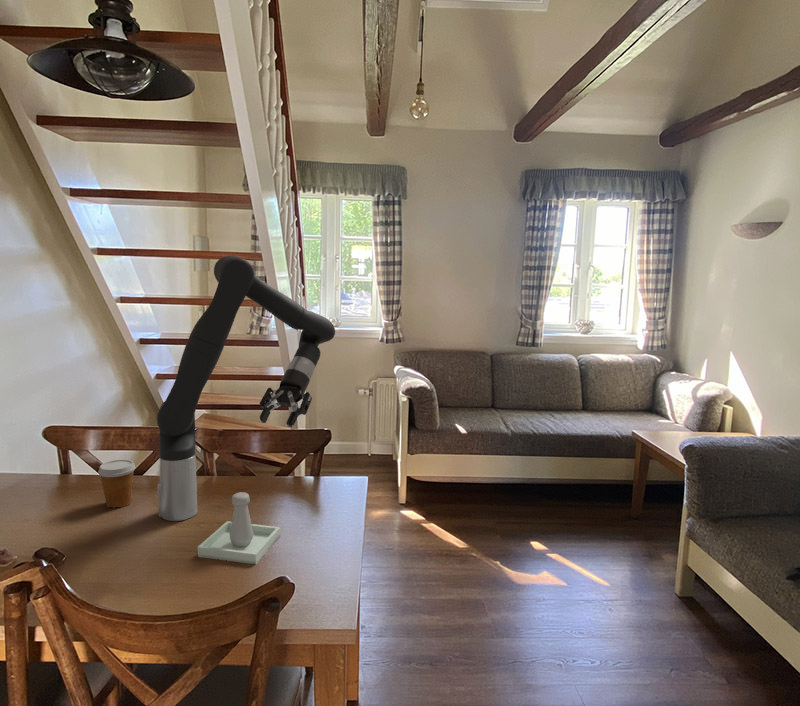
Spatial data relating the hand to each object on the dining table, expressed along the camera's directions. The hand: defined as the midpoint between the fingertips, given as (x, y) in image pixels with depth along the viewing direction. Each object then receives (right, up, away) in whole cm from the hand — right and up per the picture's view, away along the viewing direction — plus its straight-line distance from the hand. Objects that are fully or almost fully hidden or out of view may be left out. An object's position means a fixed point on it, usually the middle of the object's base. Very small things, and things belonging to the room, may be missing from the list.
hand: (275, 423), depth 145 cm
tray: (-6, -29, -12) cm, 32 cm away
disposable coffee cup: (-48, -25, +10) cm, 55 cm away
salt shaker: (-6, -29, -12) cm, 32 cm away
